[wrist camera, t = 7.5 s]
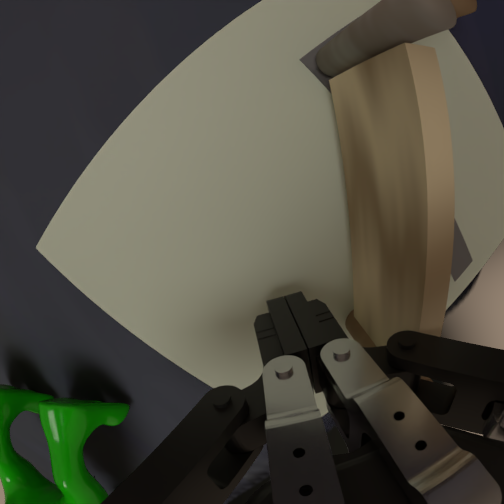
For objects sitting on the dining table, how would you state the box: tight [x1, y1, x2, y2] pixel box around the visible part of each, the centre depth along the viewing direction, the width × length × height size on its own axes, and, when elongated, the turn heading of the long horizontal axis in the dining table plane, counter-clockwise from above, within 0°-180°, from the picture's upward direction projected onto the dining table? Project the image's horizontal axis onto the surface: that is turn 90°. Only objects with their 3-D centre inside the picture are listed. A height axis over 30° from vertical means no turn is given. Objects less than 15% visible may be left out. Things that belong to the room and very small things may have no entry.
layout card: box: [36, 0, 504, 416], centre depth 13 cm, size 23×19×1 cm
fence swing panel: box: [316, 0, 457, 382], centre depth 9 cm, size 13×2×7 cm, turn 11°
